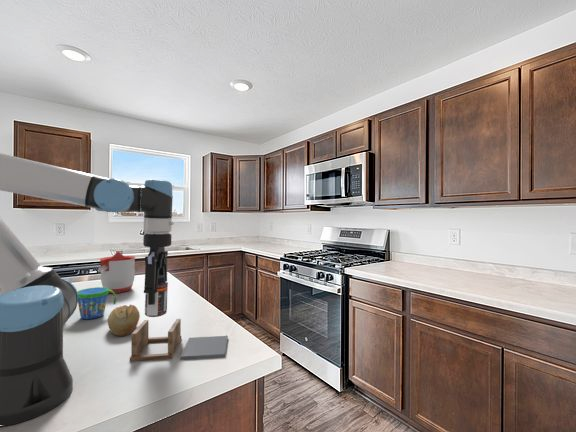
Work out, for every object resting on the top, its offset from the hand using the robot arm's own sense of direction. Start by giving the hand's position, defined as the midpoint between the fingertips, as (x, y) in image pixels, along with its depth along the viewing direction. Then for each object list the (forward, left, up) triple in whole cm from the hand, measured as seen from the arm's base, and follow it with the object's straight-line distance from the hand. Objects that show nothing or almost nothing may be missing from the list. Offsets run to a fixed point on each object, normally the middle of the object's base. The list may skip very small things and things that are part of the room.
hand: (155, 311), depth 84 cm
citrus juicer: (+68, +40, -12) cm, 80 cm away
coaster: (-1, -14, -11) cm, 18 cm away
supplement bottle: (0, 0, -1) cm, 1 cm away
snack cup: (+31, +33, -12) cm, 47 cm away
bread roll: (+17, +16, -12) cm, 26 cm away
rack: (0, 0, -11) cm, 11 cm away
